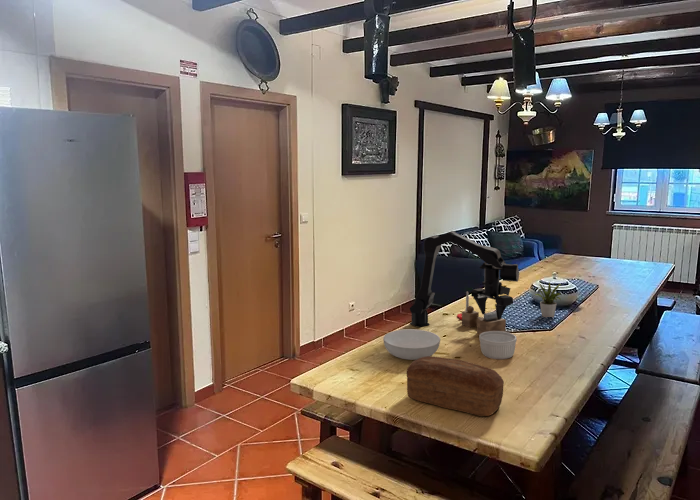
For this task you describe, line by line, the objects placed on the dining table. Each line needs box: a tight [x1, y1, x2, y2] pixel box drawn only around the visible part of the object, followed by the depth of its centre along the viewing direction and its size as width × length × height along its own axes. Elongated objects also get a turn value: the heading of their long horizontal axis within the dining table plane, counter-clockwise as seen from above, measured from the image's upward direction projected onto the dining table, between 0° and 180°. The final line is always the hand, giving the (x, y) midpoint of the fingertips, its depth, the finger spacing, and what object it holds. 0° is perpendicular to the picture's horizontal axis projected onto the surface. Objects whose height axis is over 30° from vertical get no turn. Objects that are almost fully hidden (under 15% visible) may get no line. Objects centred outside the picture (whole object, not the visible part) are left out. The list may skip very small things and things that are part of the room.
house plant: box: [531, 281, 563, 318], centre depth 237 cm, size 14×14×16 cm
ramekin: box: [478, 331, 518, 360], centre depth 193 cm, size 13×13×7 cm
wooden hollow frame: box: [461, 305, 507, 335], centre depth 222 cm, size 9×19×9 cm, turn 28°
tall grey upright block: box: [483, 311, 498, 322], centre depth 216 cm, size 6×2×6 cm, turn 118°
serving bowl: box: [382, 328, 441, 361], centre depth 195 cm, size 21×21×7 cm
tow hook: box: [456, 291, 470, 321], centre depth 240 cm, size 8×13×9 cm
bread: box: [406, 355, 505, 417], centre depth 156 cm, size 14×28×12 cm, turn 57°
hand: (491, 316), depth 216 cm, fingers open, 9 cm apart
